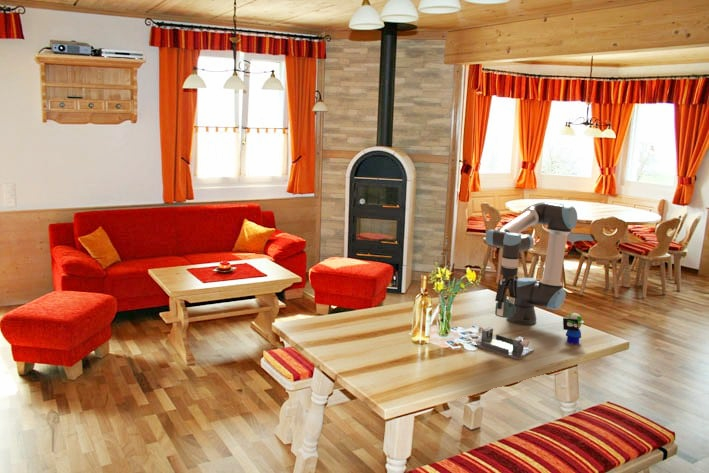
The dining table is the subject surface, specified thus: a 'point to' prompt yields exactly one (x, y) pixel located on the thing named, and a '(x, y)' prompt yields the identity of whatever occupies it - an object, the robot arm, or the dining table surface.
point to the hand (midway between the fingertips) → (505, 313)
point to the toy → (573, 327)
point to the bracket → (507, 308)
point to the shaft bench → (503, 344)
